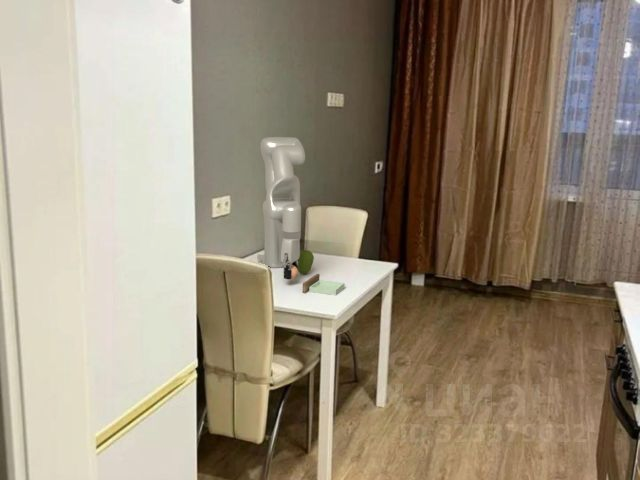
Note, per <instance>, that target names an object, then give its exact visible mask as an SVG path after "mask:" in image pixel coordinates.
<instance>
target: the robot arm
mask: <svg viewBox="0 0 640 480" xmlns="http://www.w3.org/2000/svg"><path fill="white" fill-rule="evenodd" d="M259 145H260V153H261V157H262V160H263V161H264V162H263V163H264V171H265V173H264V176H265V178H264V180H265V181H264V183H265V186H264V187H265V192H266V195H265V200H264V201H263V202H262V214H263V223H264V224H263V225H264V228H263V229H264V232H263V233H264V239H263V240H264V247H263V248H264V251H263V252H264V253H263V255H262V254H257V257H256V258H257V260H261V262H260V264H261V263H262V264H265V265H267V266H270V267H271V268H272V269H273V268H274V269H276V268H277V269H278V268H283V279H285V280H292V279H291V265H294V266H295V267H296V268H297V270H298V260H299V257H300V250H301V244H300V243H301V242H300V240H301V235H302V234H301V233H302V231H301V228H302V206H301V183H300V179H299V177H298V176H297V175H295V174H294V166H295V165H296V166H297V165H298V166H300V165H303V164H304V163H305V161H306V152H305V149H304V146H303V143H301V141H300V140H299V138H297V137H292V136H291V137H289V136H285V137H283V136H275V137H274V136H269V137H264V138H262V140H261V141H260V144H259ZM293 165H294V166H293ZM274 196H289V197H287V198H286V197H285V198H284V197H283V198H282V197H281V198H280V197H279V198H278V197H277V198H274ZM280 220H282V222H281V221H280ZM288 265H289V266H288ZM270 267H269V268H270Z"/></svg>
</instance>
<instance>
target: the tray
mask: <svg viewBox="0 0 640 480" xmlns="http://www.w3.org/2000/svg"><path fill="white" fill-rule="evenodd" d="M345 287H346V286H345V283H344V282H338V281H329V280H321V279H319V281H317V282H316V283H314V284H313V285H312V286H310V287H309V291H308V292H309V293H314V294H322V295H329V296H331V295H332V296H337V295H338V294H339V293H341V291H343V290H344V289H345Z"/></svg>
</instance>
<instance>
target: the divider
mask: <svg viewBox="0 0 640 480" xmlns="http://www.w3.org/2000/svg"><path fill="white" fill-rule="evenodd" d="M320 275H321V274H319V273H316V274H315V275H313V276H312V277H310V278H308V279H307V280H306V281H304V282H302V294H306V293H308V292H309V287H310V286H312V285H313V284H314V283H316V282H317V281H319V280H320Z"/></svg>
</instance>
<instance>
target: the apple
mask: <svg viewBox="0 0 640 480" xmlns="http://www.w3.org/2000/svg"><path fill="white" fill-rule="evenodd" d="M314 258H315V256H314V255H313V252H312V251H311V250H308V249H307V250H306V249H300V257H299V260H298V274H300V275H307V274H308V273H309V272H311V269H312V266H313V263H314V260H315V259H314Z"/></svg>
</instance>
